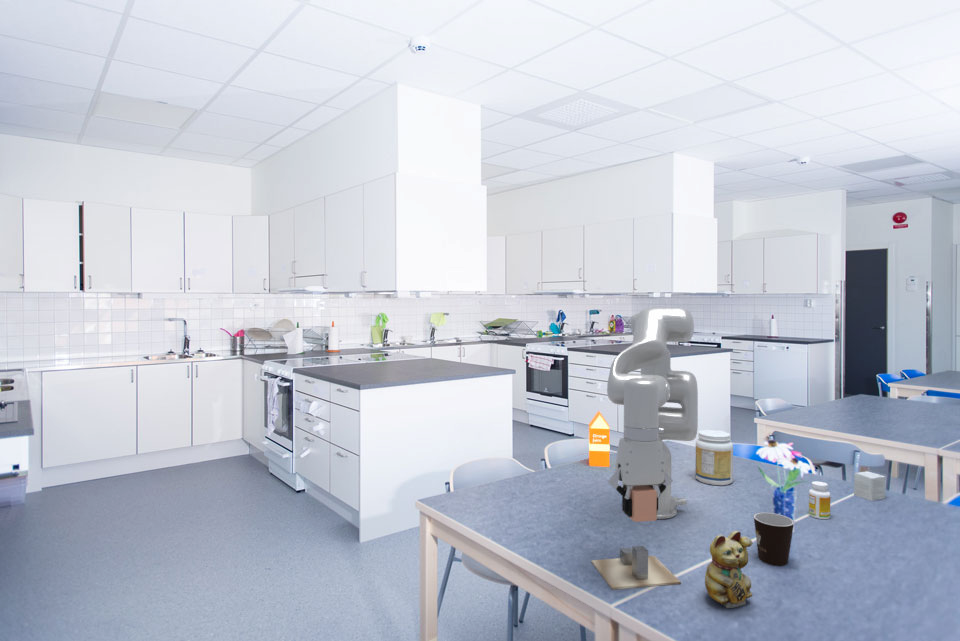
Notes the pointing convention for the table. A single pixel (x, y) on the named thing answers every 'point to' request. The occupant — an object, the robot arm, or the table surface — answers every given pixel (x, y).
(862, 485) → the pale grey block
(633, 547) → the post
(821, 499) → the supplement bottle
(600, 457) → the orange juice
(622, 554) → the silver gray cube
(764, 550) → the coffee mug
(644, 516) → the salmon pink toy brick
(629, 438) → the robot arm
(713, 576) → the decorative figurine
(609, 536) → the table surface
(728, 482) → the supplement tub
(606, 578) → the board
